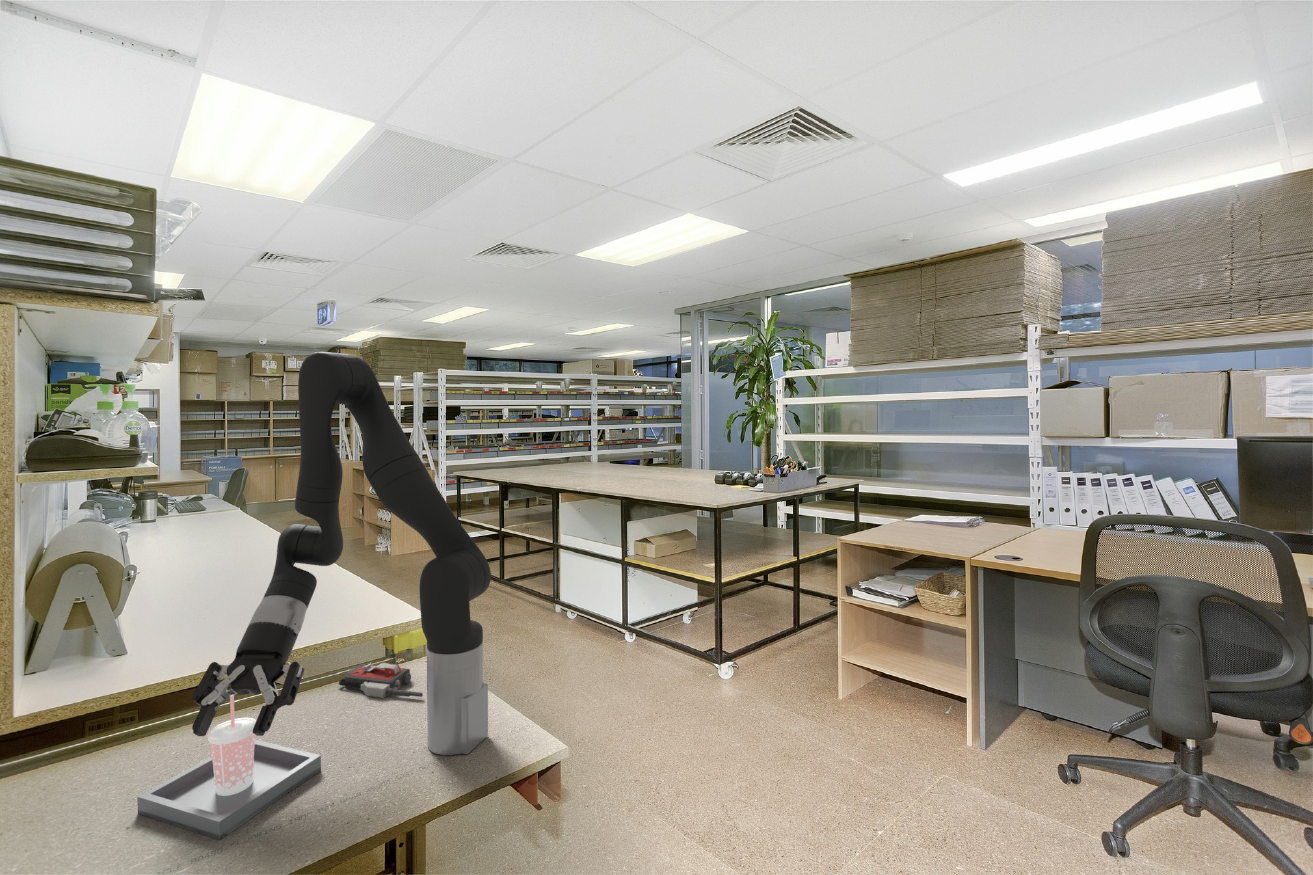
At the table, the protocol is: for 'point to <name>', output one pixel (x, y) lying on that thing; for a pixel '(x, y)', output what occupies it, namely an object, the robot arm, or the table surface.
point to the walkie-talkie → (379, 680)
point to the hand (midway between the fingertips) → (228, 734)
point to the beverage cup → (233, 753)
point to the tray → (216, 816)
